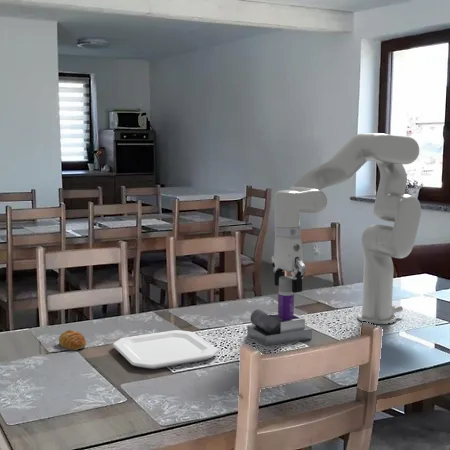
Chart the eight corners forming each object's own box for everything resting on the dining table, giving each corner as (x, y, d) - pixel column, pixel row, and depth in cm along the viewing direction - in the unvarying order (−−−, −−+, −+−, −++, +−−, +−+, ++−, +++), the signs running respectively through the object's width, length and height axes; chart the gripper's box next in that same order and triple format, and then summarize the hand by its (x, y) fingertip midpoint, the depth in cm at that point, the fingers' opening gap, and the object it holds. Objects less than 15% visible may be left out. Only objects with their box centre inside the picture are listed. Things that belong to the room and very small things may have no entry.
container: (292, 329, 183) (293, 279, 181) (276, 328, 184) (277, 279, 182) (294, 324, 187) (295, 276, 185) (278, 323, 188) (279, 275, 186)
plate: (137, 376, 154) (137, 367, 154) (108, 347, 176) (108, 339, 176) (224, 360, 166) (224, 352, 165) (187, 335, 187) (187, 328, 187)
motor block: (291, 328, 193) (292, 303, 192) (311, 338, 184) (312, 312, 183) (247, 335, 186) (247, 309, 185) (265, 346, 177) (266, 319, 176)
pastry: (92, 348, 174) (91, 335, 174) (70, 353, 170) (69, 340, 170) (77, 340, 182) (77, 327, 181) (56, 344, 177) (55, 332, 177)
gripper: (314, 235, 176) (315, 293, 178) (282, 227, 191) (283, 280, 194) (292, 237, 172) (293, 296, 175) (261, 229, 188) (262, 284, 190)
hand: (288, 288), depth 184 cm, fingers open, 9 cm apart
